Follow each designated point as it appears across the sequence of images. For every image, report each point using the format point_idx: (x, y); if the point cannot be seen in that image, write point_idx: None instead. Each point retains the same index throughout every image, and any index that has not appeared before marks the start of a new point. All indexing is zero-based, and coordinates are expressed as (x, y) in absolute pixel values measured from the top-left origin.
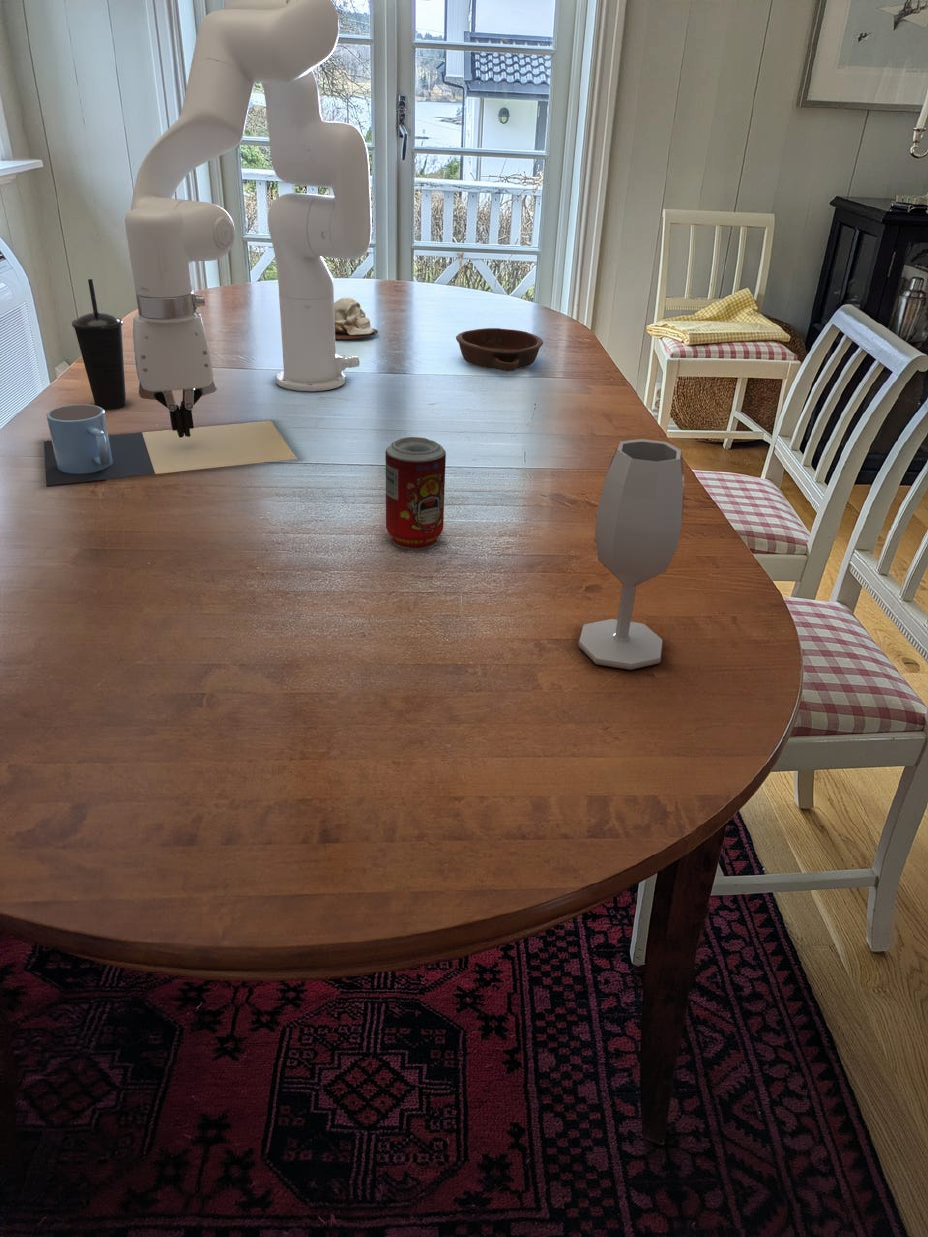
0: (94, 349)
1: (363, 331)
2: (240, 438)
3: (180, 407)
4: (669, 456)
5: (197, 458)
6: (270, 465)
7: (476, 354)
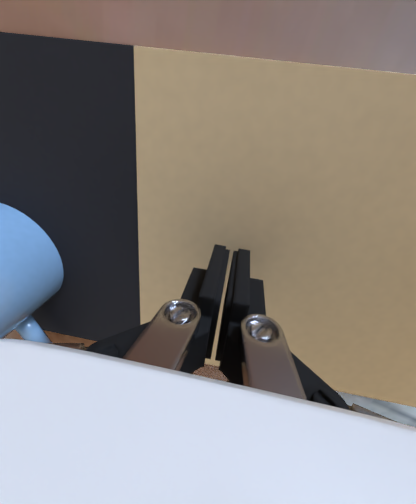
0: None
1: None
2: (403, 254)
3: (223, 322)
4: None
5: None
6: (351, 399)
7: None
